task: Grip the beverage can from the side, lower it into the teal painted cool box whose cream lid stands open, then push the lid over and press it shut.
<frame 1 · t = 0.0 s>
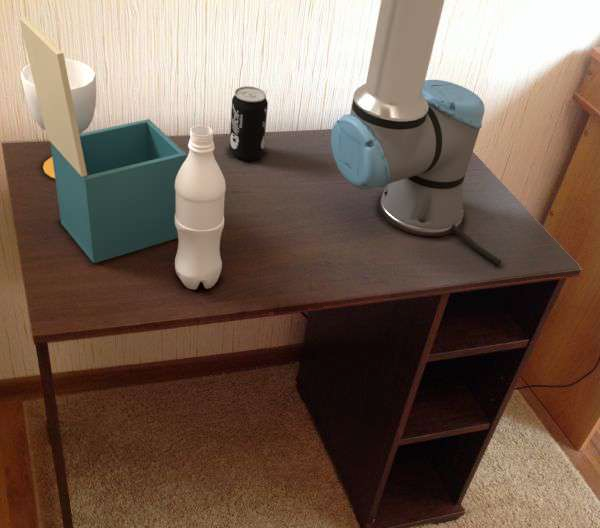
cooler: (124, 229, 124), on the table
cooler lid: (54, 99, 103), point 24 cm above the table, hinge at 95.0°
cup: (69, 168, 135), on the table
beverage can: (246, 154, 146), on the table
water bottle: (198, 281, 118), on the table
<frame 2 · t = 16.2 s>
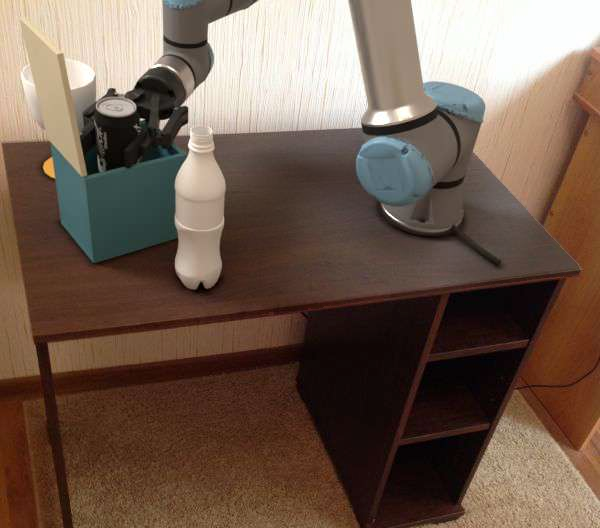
hand: (103, 153, 109), 16 cm above the table, tool horizontal, fingers closed on beverage can, 6 cm apart
beverage can: (121, 180, 118), point 9 cm above the table, touching gripper
everything else where it was.
when the fingers open (20 cm above the table, at t = 31.0 s): beverage can drops 12 cm, resting on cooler.
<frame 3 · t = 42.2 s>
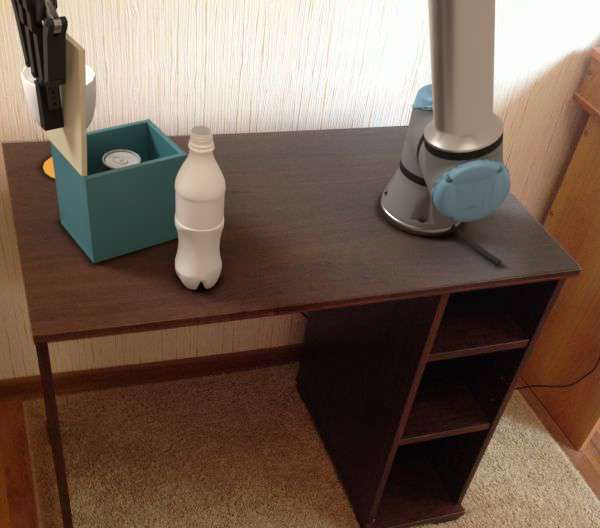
hand: (52, 126, 105), 20 cm above the table, tool pointing down, fingers closed
cooler lid: (64, 97, 103), point 24 cm above the table, hinge at 85.4°, touching gripper
beverage can: (125, 225, 124), point 1 cm above the table, touching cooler
everything else where it was.
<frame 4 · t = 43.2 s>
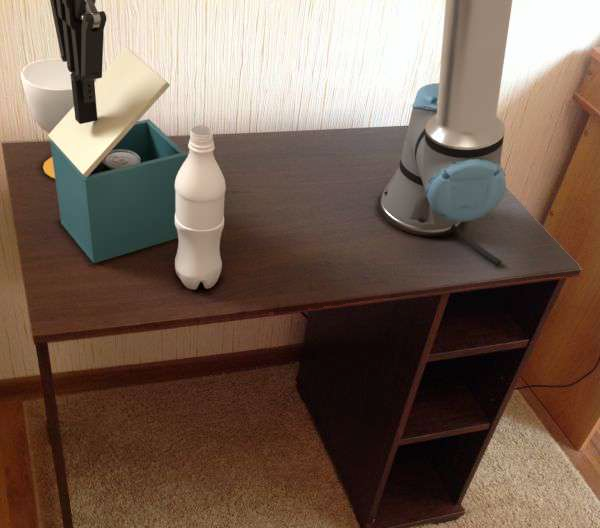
hand: (86, 119, 107), 20 cm above the table, tool pointing down, fingers closed
cooler lid: (106, 111, 109), point 21 cm above the table, hinge at 39.1°, touching gripper
everything else where it was.
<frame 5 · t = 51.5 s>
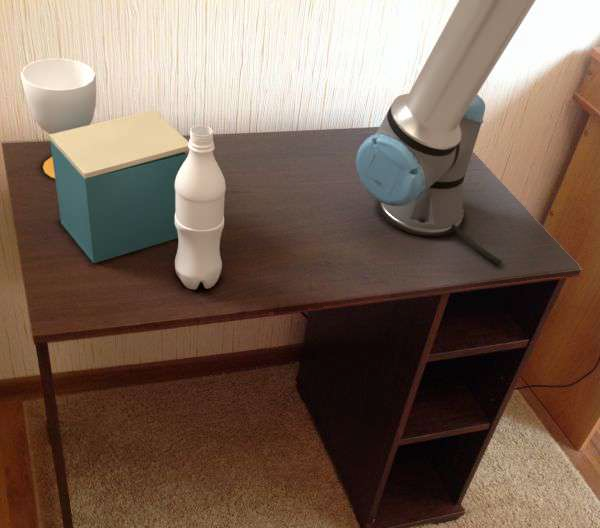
cooler lid: (121, 142, 113), point 16 cm above the table, hinge at 1.7°
everything else where it was.
at the end: beverage can inside the target area in the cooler (0.3 cm from its centre), point 0.6 cm above the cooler's base; cooler lid at +2° (first picture: +95°) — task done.
